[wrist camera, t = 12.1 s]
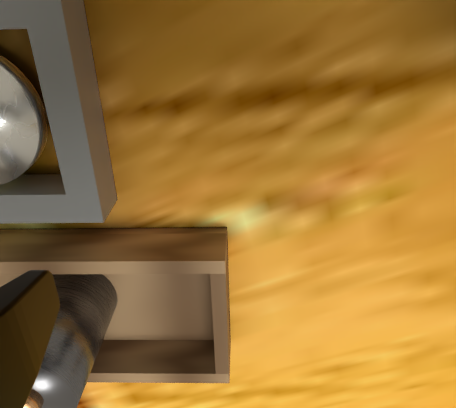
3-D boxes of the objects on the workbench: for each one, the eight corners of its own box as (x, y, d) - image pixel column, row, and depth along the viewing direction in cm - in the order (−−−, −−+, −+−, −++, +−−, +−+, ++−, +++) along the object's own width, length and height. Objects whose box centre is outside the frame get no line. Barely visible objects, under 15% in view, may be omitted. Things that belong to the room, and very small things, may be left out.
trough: (227, 227, 22) (225, 260, 19) (230, 341, 26) (229, 383, 23) (-87, 229, 23) (-132, 262, 20) (-37, 340, 26) (-69, 381, 24)
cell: (122, 323, 25) (78, 446, 18) (51, 323, 25) (-18, 444, 18) (111, 264, 23) (57, 378, 16) (33, 264, 23) (-52, 377, 16)
